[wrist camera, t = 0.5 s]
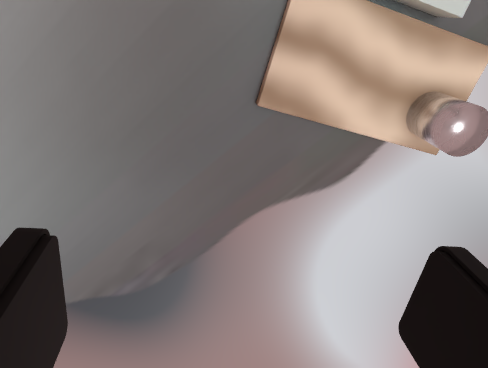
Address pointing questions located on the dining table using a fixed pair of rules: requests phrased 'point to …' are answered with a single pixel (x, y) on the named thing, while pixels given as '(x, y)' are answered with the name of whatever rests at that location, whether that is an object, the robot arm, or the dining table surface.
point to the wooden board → (365, 67)
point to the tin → (448, 123)
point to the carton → (439, 7)
